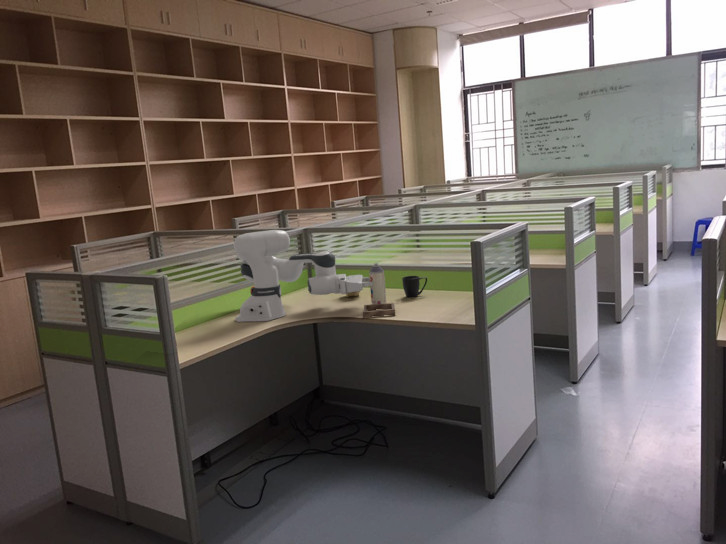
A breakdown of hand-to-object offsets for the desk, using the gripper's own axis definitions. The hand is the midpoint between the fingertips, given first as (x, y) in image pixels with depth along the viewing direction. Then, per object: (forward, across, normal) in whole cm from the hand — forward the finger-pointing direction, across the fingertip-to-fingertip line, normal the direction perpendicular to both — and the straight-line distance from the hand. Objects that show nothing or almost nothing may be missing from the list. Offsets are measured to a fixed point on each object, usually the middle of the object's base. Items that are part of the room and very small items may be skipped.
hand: (372, 281), depth 282 cm
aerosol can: (+2, +1, -12) cm, 12 cm away
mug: (+20, -15, -12) cm, 28 cm away
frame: (+2, +14, -11) cm, 18 cm away
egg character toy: (-11, -25, -12) cm, 30 cm away
